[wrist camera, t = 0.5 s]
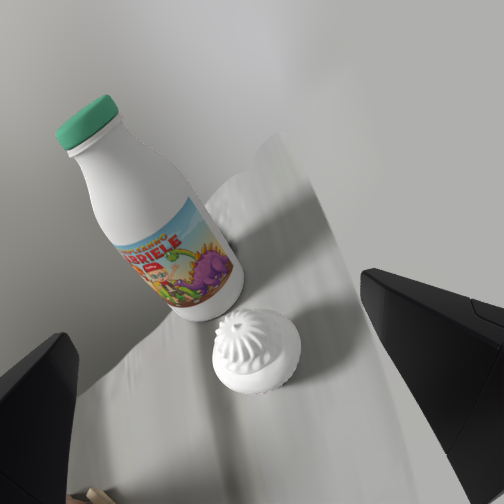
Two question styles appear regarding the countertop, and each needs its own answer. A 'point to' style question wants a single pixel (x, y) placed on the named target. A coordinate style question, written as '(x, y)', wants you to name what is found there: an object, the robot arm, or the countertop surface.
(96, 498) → the wooden blocks
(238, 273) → the milk bottle
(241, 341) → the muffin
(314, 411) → the countertop surface
